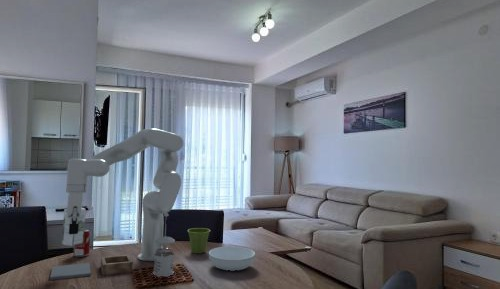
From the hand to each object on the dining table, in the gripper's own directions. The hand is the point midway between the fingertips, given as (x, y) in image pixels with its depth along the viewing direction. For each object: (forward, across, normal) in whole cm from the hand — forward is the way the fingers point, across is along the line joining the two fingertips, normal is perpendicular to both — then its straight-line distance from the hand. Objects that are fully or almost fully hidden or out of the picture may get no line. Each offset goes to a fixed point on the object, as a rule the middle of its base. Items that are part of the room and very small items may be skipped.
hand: (73, 231), depth 137 cm
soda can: (+17, -24, +4) cm, 30 cm away
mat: (+16, 0, 0) cm, 16 cm away
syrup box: (+5, 0, 0) cm, 5 cm away
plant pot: (+16, -12, +58) cm, 62 cm away
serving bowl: (+16, +17, +64) cm, 68 cm away
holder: (+16, +2, +17) cm, 24 cm away
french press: (+16, +14, +34) cm, 40 cm away
